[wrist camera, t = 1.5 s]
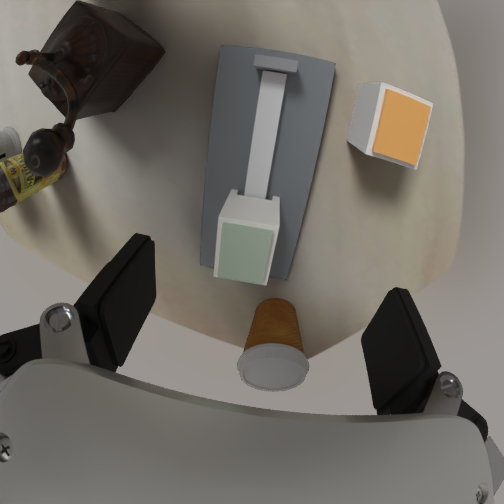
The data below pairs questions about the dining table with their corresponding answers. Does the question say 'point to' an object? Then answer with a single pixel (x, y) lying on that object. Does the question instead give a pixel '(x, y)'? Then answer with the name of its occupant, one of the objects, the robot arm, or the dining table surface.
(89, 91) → the pepper mill
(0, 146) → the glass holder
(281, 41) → the dining table surface
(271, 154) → the rail board
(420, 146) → the module
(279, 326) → the disposable coffee cup
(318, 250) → the dining table surface
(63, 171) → the sauce bottle
